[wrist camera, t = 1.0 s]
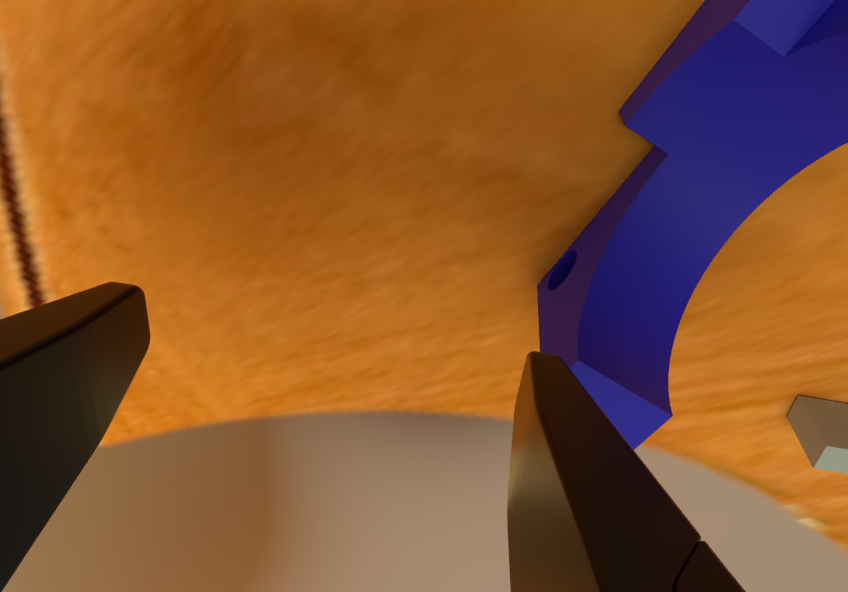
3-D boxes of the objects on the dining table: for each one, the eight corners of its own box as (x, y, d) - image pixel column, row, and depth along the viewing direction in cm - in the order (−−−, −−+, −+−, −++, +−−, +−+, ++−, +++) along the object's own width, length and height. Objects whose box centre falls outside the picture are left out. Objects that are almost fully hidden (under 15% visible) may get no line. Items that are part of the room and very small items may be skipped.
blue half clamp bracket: (780, -99, 16) (904, -100, 11) (914, 6, 16) (1089, 54, 11) (500, 261, 22) (494, 370, 17) (608, 326, 23) (633, 449, 17)
